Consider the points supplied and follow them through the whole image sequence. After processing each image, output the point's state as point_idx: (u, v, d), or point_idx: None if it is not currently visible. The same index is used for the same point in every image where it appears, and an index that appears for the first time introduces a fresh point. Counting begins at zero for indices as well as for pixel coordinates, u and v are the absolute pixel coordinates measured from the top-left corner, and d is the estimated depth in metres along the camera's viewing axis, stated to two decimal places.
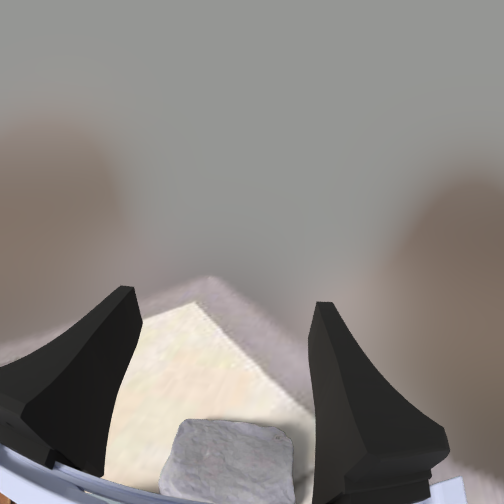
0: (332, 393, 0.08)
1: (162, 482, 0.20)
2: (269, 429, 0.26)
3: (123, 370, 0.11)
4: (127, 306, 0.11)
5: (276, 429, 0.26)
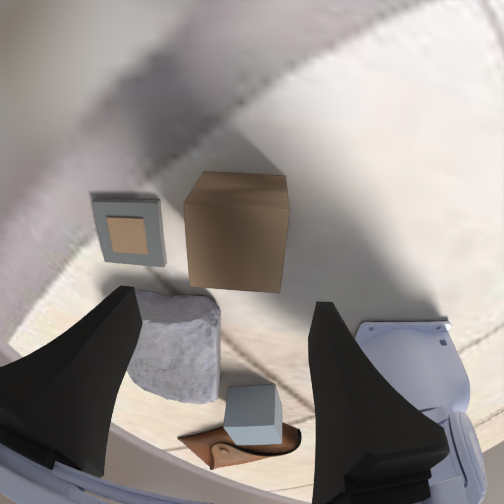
0: (332, 393, 0.08)
1: None
2: None
3: (123, 370, 0.11)
4: (127, 306, 0.11)
5: None
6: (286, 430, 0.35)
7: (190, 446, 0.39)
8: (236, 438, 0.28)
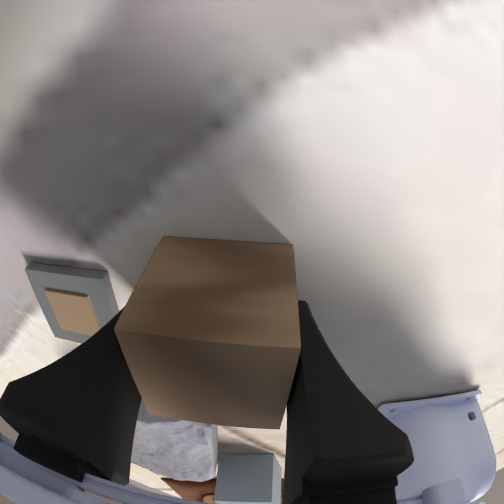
0: (298, 393, 0.08)
1: None
2: None
3: None
4: None
5: None
6: None
7: (176, 489, 0.31)
8: None
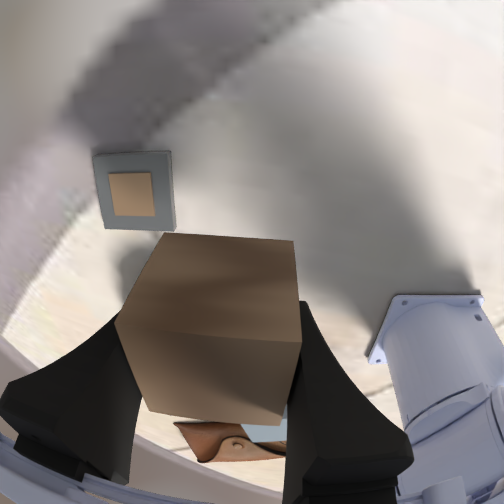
0: (298, 393, 0.08)
1: None
2: None
3: None
4: None
5: None
6: None
7: (190, 435, 0.34)
8: (253, 434, 0.25)
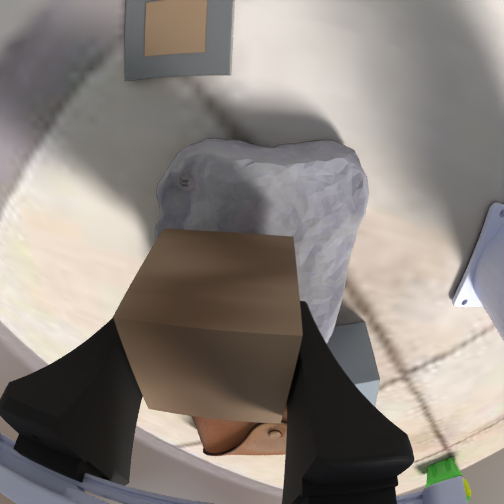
0: (298, 393, 0.08)
1: None
2: (164, 198, 0.13)
3: None
4: None
5: (163, 185, 0.13)
6: None
7: None
8: None
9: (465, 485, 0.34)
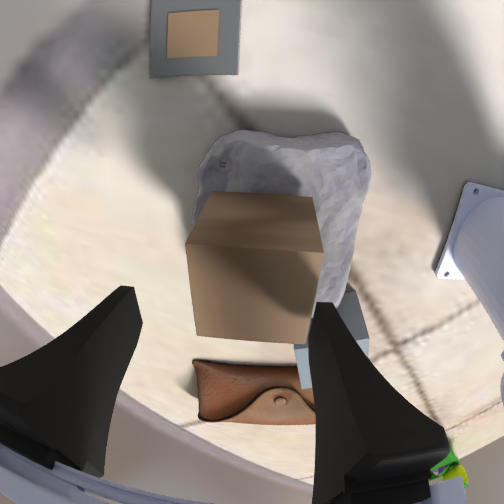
0: (332, 393, 0.08)
1: None
2: (205, 177, 0.16)
3: (123, 370, 0.11)
4: (127, 306, 0.11)
5: (204, 166, 0.16)
6: None
7: (215, 379, 0.28)
8: (306, 374, 0.21)
9: (462, 471, 0.37)
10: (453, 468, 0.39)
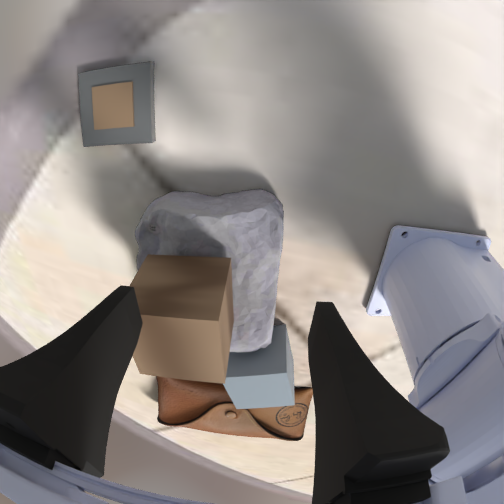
0: (332, 393, 0.08)
1: (255, 350, 0.22)
2: (141, 238, 0.19)
3: (123, 370, 0.11)
4: (127, 306, 0.11)
5: (139, 230, 0.18)
6: None
7: (173, 389, 0.30)
8: (236, 397, 0.23)
9: None
10: None
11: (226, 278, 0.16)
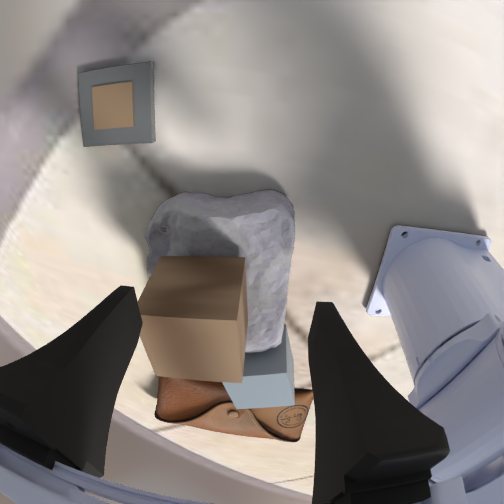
0: (332, 393, 0.08)
1: (265, 350, 0.22)
2: (151, 240, 0.19)
3: (123, 370, 0.11)
4: (127, 306, 0.11)
5: (149, 231, 0.18)
6: None
7: (176, 386, 0.29)
8: (236, 397, 0.23)
9: None
10: None
11: (242, 278, 0.16)
